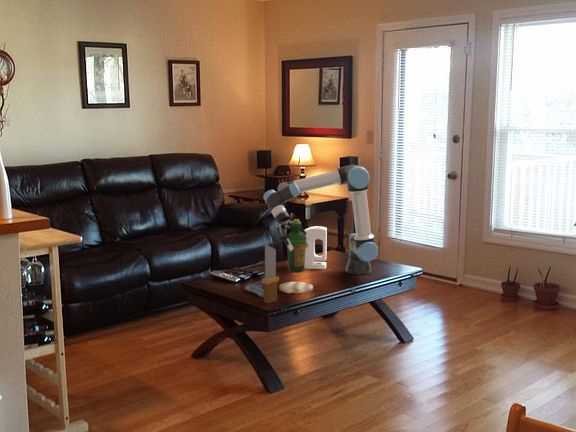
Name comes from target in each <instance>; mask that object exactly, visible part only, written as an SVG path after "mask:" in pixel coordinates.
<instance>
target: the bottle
mask: <svg viewBox="0 0 576 432" xmlns="http://www.w3.org/2000/svg"><path fill="white" fill-rule="evenodd" d="M293 221H294V222H293ZM293 221H292V228H293V231H290V232H289V233H288V234H287V238H288V239H289V241H290V242H291V244H292V246H293V248H294V249H293V250H292V251H290V250H289V248H288V246H287V245H286V246H287V247H286V248H287V249H286V251H287V263H288V264H287V266H288V271H289V272H291V273H293V274H295V273H296V274H297V273H298V274H299V273H303V272H304V271H305V268H304V266H305V251H306V236H305V234H304V233H303V232H301V231H300V228H301V227H302V221H300V219H299V218H297V219H296V218H295V219H293ZM302 228H303V227H302ZM287 238H286V239H287Z"/></svg>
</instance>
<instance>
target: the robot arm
mask: <svg viewBox="0 0 576 432" xmlns="http://www.w3.org/2000/svg"><path fill="white" fill-rule="evenodd" d="M370 180H371V178H370V174H369V172H368V169H366V168H365V167H363V166H361V165H360V166H359V165H358V164H349V165H345V166H342V167H339V168H335V169H334V171H329V172H324V173H320V174H316V175H313V176H308V177H304V178H298V179H295V180H292V181H287V182H285V181H283V182H280V183H279V185H278V186H277V191H275V189H269V190H267V191H266V192H264V194H263V200H264V201H265V204H266V206H267V207H268V209H269V210H270V212H271V214H272V215H273V217H274V219H275V221H276V224H275V225H274V226H275V229H276V232H277V235H278V240H279V241H281V242H283V243H284V244H285V245H286V246H288V248H289V250H290V251H292V250H293V249H294V248H293V246H292V244H291V242H290V241H289V239H288V238H287V235H288V234H287V231H290V232H292V231H293V227H292V222H294V220H293V221H292V220H291V216H290V215H289V213H288V212H287V209H286V207H285V206H284V204H285V203H286V202H288V201H291V200H292V199H294V198H296V197H298V196H299V195H301V193H305V192H309V191H312V190H318V189H321V188H326V187H330V186H334V185H339V186H341V185H347V191H348V193H350V195H351V202H352V211H353V220H354V227H355V233H351V234H349V237H348V241H349V242H348V261H347V262H346V267H345V273H348V274H351V275H358V276H359V275H360V276H361V275H362V276H363V275H369V274H371V273H372V266H371V263H370V262H371V261H373V260H375V258H377V256H378V255H379V248H378V246H377V244H376V240H375V234H373V233H372V228H371V220H370V212H369V203H368V202H369V201H368V196H367V195H368V194H367V192H368V190H369V189H370V187H369V183H370ZM304 230H305V229H304V228H303V227H301V228H300V231H301V232H303V233H304V234H305V235H306V234H307V233H306V232H305V231H304ZM308 246H309V243H308V241H307V239H306V248H308Z"/></svg>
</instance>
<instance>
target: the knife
mask: <svg viewBox="0 0 576 432" xmlns="http://www.w3.org/2000/svg"><path fill="white" fill-rule="evenodd" d="M261 281H262V283H264V297H263V303H265V304H271V303H274V302H277V301H278V282H280V276H277V249H276V248H275V247H271V246H270V245H268V244H264V277H263V278H261Z"/></svg>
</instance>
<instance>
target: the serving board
mask: <svg viewBox="0 0 576 432" xmlns="http://www.w3.org/2000/svg"><path fill="white" fill-rule="evenodd" d="M313 289H314V286H313V284H311V283H309V282H304V281H289V282H283V283H281V284H280V285H279V291H281V292H283V293H287V294H291V293H294V295H297V294H298V293H302V294H306V293H310V292H312V291H313ZM298 295H299V294H298Z"/></svg>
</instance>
